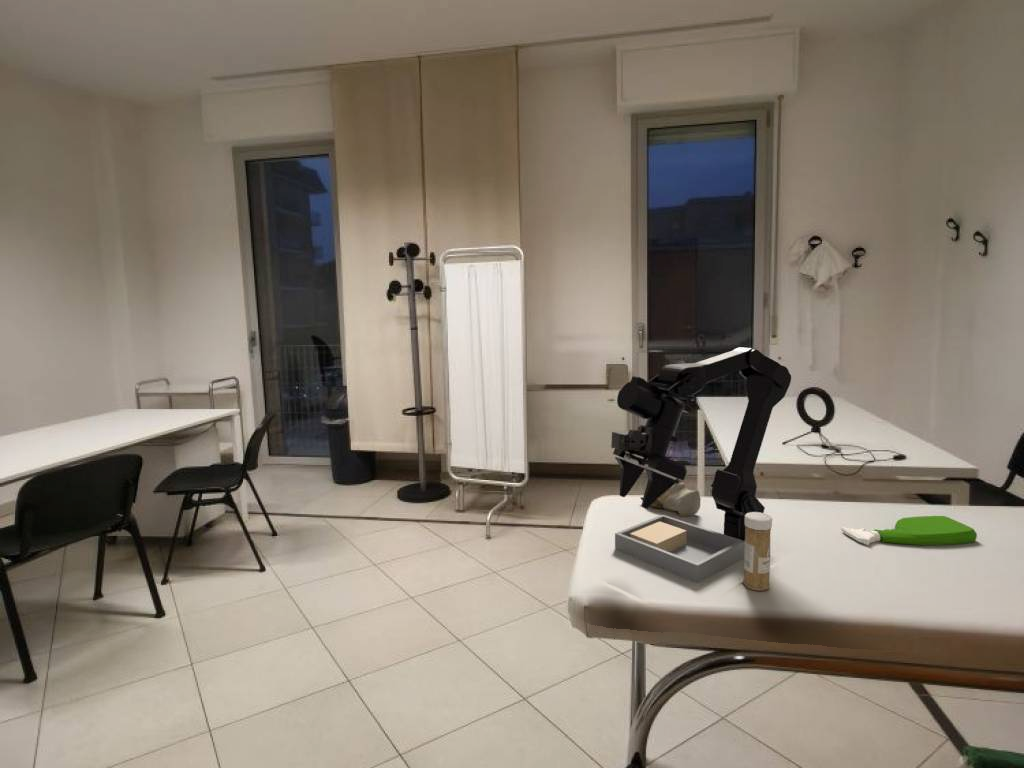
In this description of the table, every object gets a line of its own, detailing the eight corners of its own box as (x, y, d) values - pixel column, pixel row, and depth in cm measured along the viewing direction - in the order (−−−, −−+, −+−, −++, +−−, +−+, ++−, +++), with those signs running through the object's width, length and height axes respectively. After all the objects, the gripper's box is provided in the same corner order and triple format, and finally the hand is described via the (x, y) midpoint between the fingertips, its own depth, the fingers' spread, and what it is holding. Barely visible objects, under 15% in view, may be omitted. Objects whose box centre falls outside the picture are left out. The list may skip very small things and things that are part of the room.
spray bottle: (981, 545, 121) (869, 553, 120) (940, 525, 132) (836, 533, 130) (983, 531, 121) (869, 540, 119) (941, 513, 131) (836, 520, 130)
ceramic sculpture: (681, 488, 135) (637, 476, 148) (682, 524, 136) (638, 509, 149) (713, 480, 140) (668, 469, 153) (714, 515, 141) (669, 501, 154)
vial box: (659, 534, 129) (659, 521, 129) (686, 543, 124) (686, 530, 123) (630, 547, 123) (629, 533, 123) (656, 557, 118) (656, 543, 117)
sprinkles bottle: (771, 593, 104) (773, 521, 102) (743, 590, 105) (745, 519, 103) (768, 581, 108) (770, 512, 106) (741, 578, 109) (743, 510, 107)
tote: (662, 531, 132) (662, 514, 132) (744, 560, 117) (744, 541, 116) (615, 551, 123) (614, 533, 122) (697, 585, 107) (697, 565, 106)
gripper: (605, 408, 120) (578, 478, 119) (649, 416, 102) (618, 500, 101) (650, 426, 123) (624, 496, 122) (701, 438, 105) (671, 519, 104)
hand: (632, 502), depth 112 cm, fingers open, 9 cm apart
